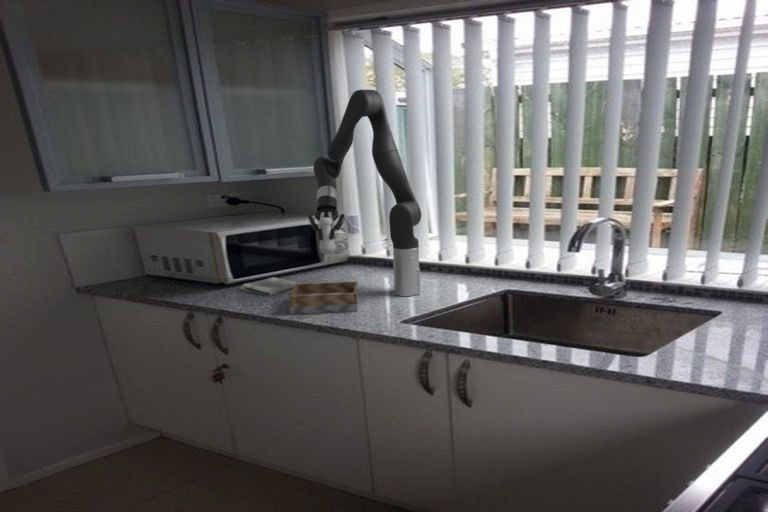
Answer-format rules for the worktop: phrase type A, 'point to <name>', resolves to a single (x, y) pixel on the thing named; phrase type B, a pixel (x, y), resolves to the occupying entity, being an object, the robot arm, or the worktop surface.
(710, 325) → the worktop surface
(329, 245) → the salt shaker
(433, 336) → the worktop surface
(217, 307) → the worktop surface
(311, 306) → the bore box
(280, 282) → the dish towel
